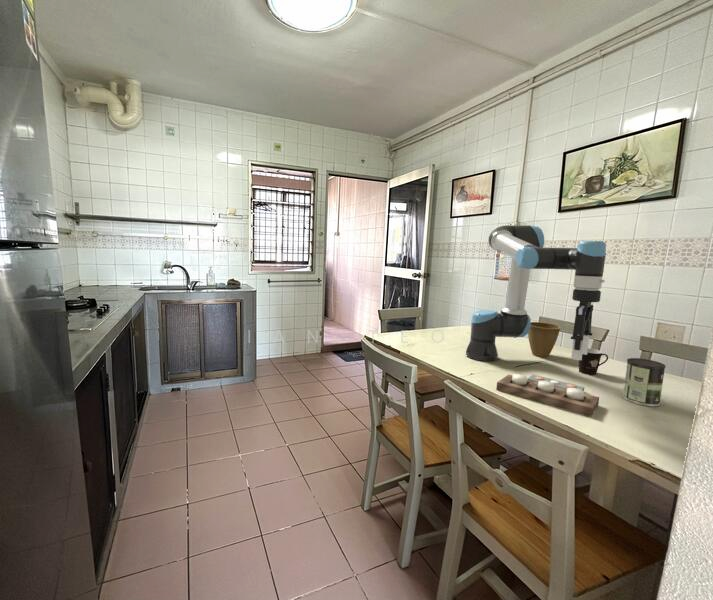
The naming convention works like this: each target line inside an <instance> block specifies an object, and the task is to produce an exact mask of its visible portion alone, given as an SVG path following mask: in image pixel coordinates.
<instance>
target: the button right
mask: <svg viewBox="0 0 713 600" xmlns="http://www.w3.org/2000/svg"><path fill="white" fill-rule="evenodd" d="M584 394H585V390H584V391H582V390H580V389H577V388H567V393H566V397H568V398H569V399H573V400H577V401H582V400H584Z"/></svg>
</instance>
